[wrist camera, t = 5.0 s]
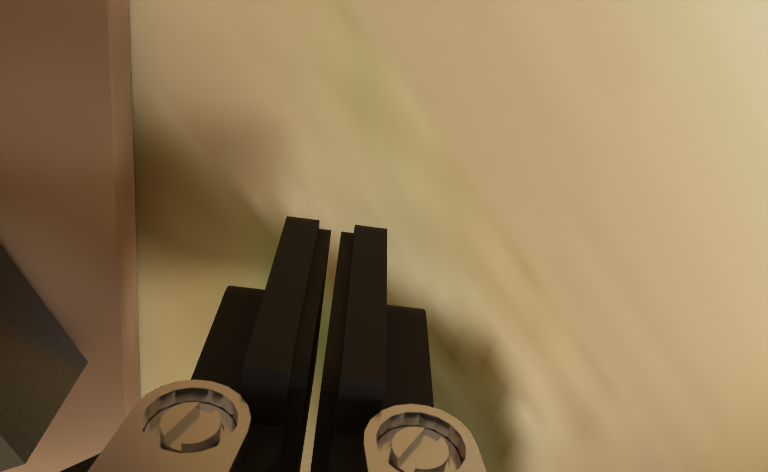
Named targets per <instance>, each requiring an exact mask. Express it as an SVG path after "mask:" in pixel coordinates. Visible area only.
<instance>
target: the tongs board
mask: <svg viewBox="0 0 768 472" xmlns="http://www.w3.org/2000/svg"><path fill="white" fill-rule="evenodd" d="M0 245H1V246H2V247H3V249H4V250H5V251H6V253H7V254H8V255H9V257H10V258H11V259H12V261H13V262H14V263H15V265H16V266H17V267H18V269H19V270H20V271H21V273H22V274H23V275H24V277H25V278H26V279H27V281H28V282H29V283H30V285H31V286H32V287H33V289H34V290H35V291H36V293H37V294H38V295H39V297H40V298H41V300H42V301H43V302H44V304H45V305H46V306H47V308H48V309H49V310H50V312H51V313H52V314H53V316H54V317H55V318H56V320H57V321H58V322H59V324H60V325H61V326H62V328H63V329H64V330H65V332H66V333H67V334H68V336H69V337H70V338H71V340H72V341H73V342H74V344H75V345H76V346H77V348H78V349H79V350H80V352H81V353H82V354H83V356H84V357H85V358H86V360H87V361H88V363H87V365H86V366H85V368H84V370H83V371H82V373H81V375H80V376H79V378H78V379H77V381H76V383H75V384H74V386H73V388H72V389H71V391H70V392H69V394H68V396H67V397H66V399H65V401H64V402H63V404H62V405H61V407H60V409H59V410H58V412H57V414H56V415H55V417H54V418H53V420H52V422H51V423H50V425H49V427H48V428H47V430H46V431H45V433H44V435H43V436H42V438H41V440H40V441H39V443H38V444H37V446H36V448H35V449H34V451H33V453H32V454H31V456H30V457H29V459H28V461H27V462H26V464H24V465H21V466H18V467H14V468H11V469H8V470H5V471H2V472H60V471H62V470H64V469H67V468H69V467H71V466H73V465H75V464H77V463H80V462H82V461H84V460H86V459H88V458H91V457H93V456H95V455H97V454H99V453H101V452H102V451H103V449H104V448H105V446H106V445H107V444H108V442H109V441H110V439H111V438H112V437H113V435H114V434H115V432H116V431H117V430H118V428H119V427H120V425H121V424H122V423H123V421H124V420H125V418H126V417H127V416H128V414H129V413H130V411H131V410H132V409H133V407H134V406H135V405H136V404H137V403H138V402H139V401H140V400H141V393H140V358H139V323H138V288H137V253H136V218H135V183H134V148H133V113H132V78H131V43H130V8H129V0H0Z"/></svg>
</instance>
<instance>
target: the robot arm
mask: <svg viewBox="0 0 768 472" xmlns="http://www.w3.org/2000/svg"><path fill="white" fill-rule="evenodd" d="M330 236H331V230H324V229H319V220H312V219H305V218H297V217H289V216H287V218H286V221H285V224H284V228H283V231H282V234H281V238H280V241H279V245H278V248H277V251H276V255H275V258H274V262H273V265H272V268H271V272H270V275H269V278H268V282H267V285H266V289H265V290H262V289H253V288H245V287H237V286H228V287H227V289H226V291H225V293H224V296H223V298H222V301H221V304H220V306H219V309H218V311H217V314H216V316H215V319H214V322H213V324H212V327H211V329H210V332H209V334H208V337H207V339H206V342H205V345H204V347H203V350H202V352H201V355H200V357H199V360H198V363H197V365H196V368H195V370H194V373H193V375H192V378H191V380H186V381H177V382H173V383H170V384H167V385H164V386H160V387H159V388H157V389H155V390H153V391H151V392H150V393H148V394H146V395H145V396H144V397H143V398H142V399H141V400H140V401H139V402H138V403H137V404H136V405H135V406H134V407H133V409H132V410H131V411H130V413H129V414H128V416H127V417H126V418H125V420H124V421H123V423H122V424H121V425H120V427H119V428H118V430H117V431H116V432H115V434H114V435H113V437H112V438H111V439H110V441H109V442H108V444H107V445H106V446H105V448H104V449H103V451H102V452H101V453H99V454H97V455H95V456H93V457H91V458H88V459H86V460H84V461H82V462H80V463H77V464H75V465H73V466H71V467H69V468H67V469H64V470H62V471H60V472H300V466H301V459H302V453H303V446H304V439H305V432H306V426H307V419H308V412H309V406H310V399H311V392H312V385H313V379H314V371H315V364H316V355H317V347H318V338H319V330H320V321H321V313H322V304H323V296H324V287H325V279H326V270H327V262H328V253H329V245H330ZM310 472H486V469H485V466H484V464H483V461H482V458H481V455H480V452H479V449H478V446H477V444H476V442H475V440H474V438H473V436H472V435H471V433H470V431H469V430H468V429H467V428H466V427H465V426H464V425H463V424H462V423H461V422H460V421H459V420H458V419H456V418H454V417H453V416H451V415H449V414H448V413H446V412H444V411H442V410H439V409H436V408H434V404H433V392H432V380H431V368H430V356H429V344H428V332H427V320H426V312H425V310H424V309H419V308H410V307H402V306H394V305H387V229H383V228H375V227H367V226H360V225H355V228H354V233H348V232H341V238H340V246H339V254H338V261H337V269H336V276H335V284H334V292H333V299H332V307H331V314H330V322H329V329H328V337H327V345H326V352H325V360H324V367H323V375H322V383H321V391H320V399H319V407H318V415H317V423H316V431H315V439H314V447H313V455H312V463H311V471H310Z"/></svg>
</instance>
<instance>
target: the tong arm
mask: <svg viewBox="0 0 768 472" xmlns="http://www.w3.org/2000/svg"><path fill="white" fill-rule="evenodd" d="M87 363H88V361H87V360H86V358H85V357H84V356H83V354H82V353H81V352H80V350H79V349H78V348H77V346H76V345H75V344H74V342H73V341H72V340H71V338H70V337H69V336H68V334H67V333H66V332H65V330H64V329H63V328H62V326H61V325H60V324H59V322H58V321H57V320H56V318H55V317H54V316H53V314H52V313H51V312H50V310H49V309H48V308H47V306H46V305H45V304H44V302H43V301H42V300H41V298H40V297H39V295H38V294H37V293H36V291H35V290H34V289H33V287H32V286H31V285H30V283H29V282H28V281H27V279H26V278H25V277H24V275H23V274H22V273H21V271H20V270H19V269H18V267H17V266H16V265H15V263H14V262H13V261H12V259H11V258H10V257H9V255H8V254H7V253H6V251H5V250H4V249H3V247H2V246H1V245H0V472H2V471H5V470H8V469H11V468H14V467H18V466H21V465H24V464H26V462H27V461H28V459H29V457H30V456H31V454H32V453H33V451H34V449H35V448H36V446H37V444H38V443H39V441H40V440H41V438H42V436H43V435H44V433H45V431H46V430H47V428H48V427H49V425H50V423H51V422H52V420H53V418H54V417H55V415H56V414H57V412H58V410H59V409H60V407H61V405H62V404H63V402H64V401H65V399H66V397H67V396H68V394H69V392H70V391H71V389H72V388H73V386H74V384H75V383H76V381H77V379H78V378H79V376H80V375H81V373H82V371H83V370H84V368H85V366H86V365H87Z"/></svg>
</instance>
